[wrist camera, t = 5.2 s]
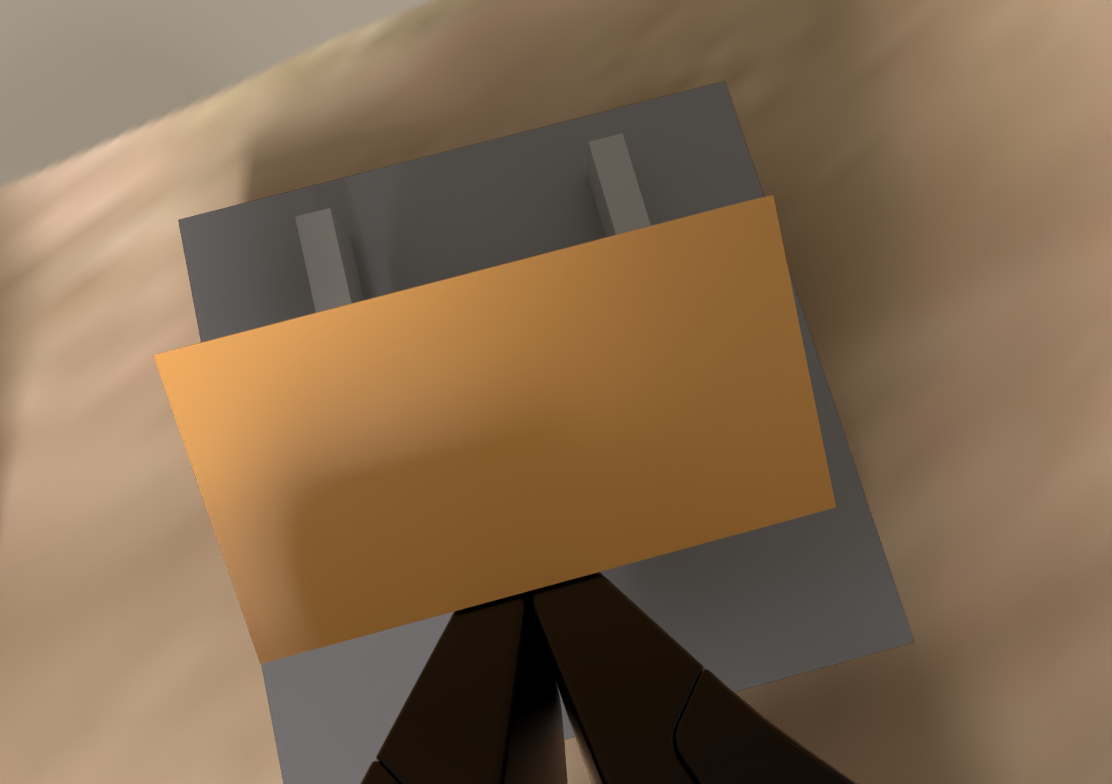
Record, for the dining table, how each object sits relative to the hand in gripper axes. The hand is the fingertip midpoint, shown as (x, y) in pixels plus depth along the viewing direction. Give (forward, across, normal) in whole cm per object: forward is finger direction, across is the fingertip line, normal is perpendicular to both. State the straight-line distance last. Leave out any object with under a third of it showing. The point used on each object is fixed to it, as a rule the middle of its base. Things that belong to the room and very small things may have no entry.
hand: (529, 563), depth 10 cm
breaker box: (+11, 0, -6) cm, 12 cm away
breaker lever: (+9, 0, -2) cm, 9 cm away
